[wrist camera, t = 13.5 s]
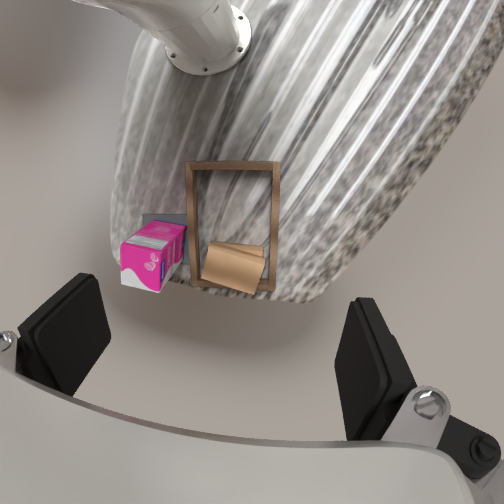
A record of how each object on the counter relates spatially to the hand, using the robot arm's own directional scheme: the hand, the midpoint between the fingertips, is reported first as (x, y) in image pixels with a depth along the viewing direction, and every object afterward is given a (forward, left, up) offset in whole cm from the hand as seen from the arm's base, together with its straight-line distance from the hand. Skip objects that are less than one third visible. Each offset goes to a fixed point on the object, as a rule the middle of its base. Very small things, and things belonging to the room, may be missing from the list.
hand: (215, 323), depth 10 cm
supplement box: (+9, -14, -33) cm, 37 cm away
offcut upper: (+12, -4, -31) cm, 33 cm away
